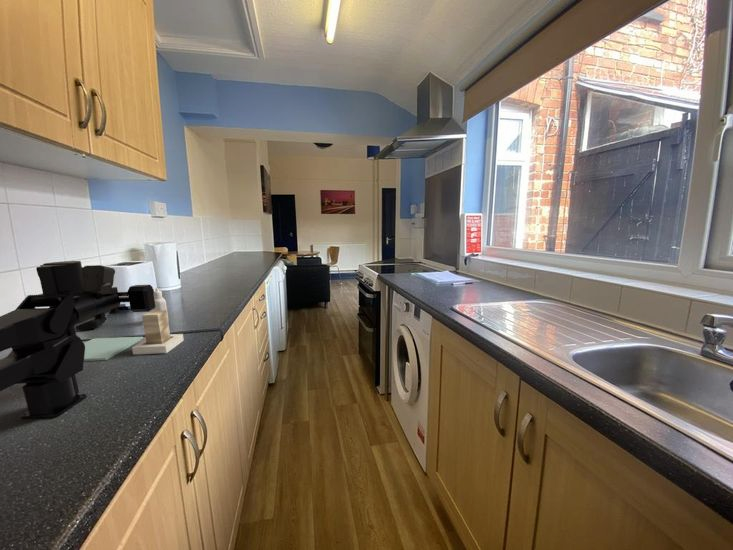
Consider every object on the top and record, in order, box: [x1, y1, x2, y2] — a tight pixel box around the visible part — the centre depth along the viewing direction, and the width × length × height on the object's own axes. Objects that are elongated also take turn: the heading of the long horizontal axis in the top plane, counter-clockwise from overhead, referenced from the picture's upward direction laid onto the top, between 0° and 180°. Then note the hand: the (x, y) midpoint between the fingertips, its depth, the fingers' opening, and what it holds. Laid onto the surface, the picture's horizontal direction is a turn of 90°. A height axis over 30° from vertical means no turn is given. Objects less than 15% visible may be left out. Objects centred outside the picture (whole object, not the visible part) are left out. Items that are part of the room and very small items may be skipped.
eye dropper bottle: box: [152, 287, 169, 322], centre depth 105 cm, size 4×6×12 cm
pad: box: [83, 336, 144, 362], centre depth 83 cm, size 14×14×1 cm
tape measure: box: [75, 316, 108, 331], centre depth 100 cm, size 7×7×4 cm
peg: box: [141, 310, 171, 345], centre depth 83 cm, size 4×4×10 cm
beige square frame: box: [131, 333, 185, 356], centre depth 84 cm, size 8×8×2 cm
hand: (135, 291), depth 79 cm, fingers open, 9 cm apart
